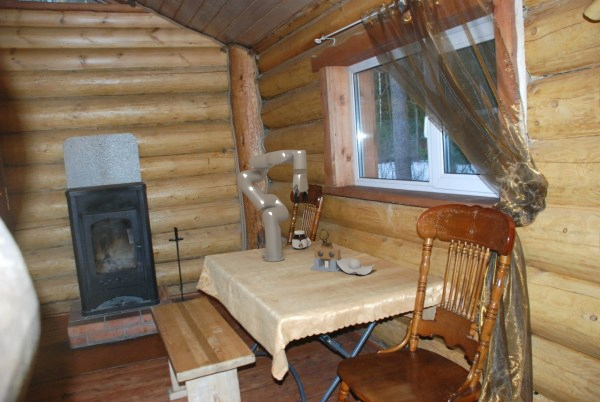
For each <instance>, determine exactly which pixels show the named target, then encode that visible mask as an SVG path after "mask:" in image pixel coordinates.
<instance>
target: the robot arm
mask: <svg viewBox="0 0 600 402" xmlns="http://www.w3.org/2000/svg"><path fill="white" fill-rule="evenodd" d="M248 163H249V166H250V168H251V169H247V170H243V171H241V172H239V173H238V175H237V185H238V187H239V189H240V190H241V192H242V193H243V194H244V195H246V197H247V199H248V200H249V201H250V202H251V203H252V204H253V206H254V207H255V208H256V209H257V210H258V211H263V212H262V221H263V226H264V237H265V238H264V239H265V251H262V252H261V256H262V257H263V256H264V257H263V261H265V262H269V263H274V262H275V263H277V262H282V261H285V259H286V257H285V256H284V255H283V248H282V230H281V226H280V225H279V223H283V222H285V221H286V220H288V218H289V216H290V215H289V214H290V213H289V210H288V208H287V207H286V205H285V204H284V203H283V202H282V201H281V200H280V198H279V197H278V196H277V195H275V194H273V193H263V192H262V191H261V189H260V188H259V187H257V186H256V185H255V184H259V183H261V182H263V181H264V179H265V178H266V176H267V174H268V173H269V171H270V169H271V168H273V167H275V166H276V165H282V164H293V177H292V192H293V193H292V194H293V201H294V204H301V200H302V202H308V201H309V197H308V196H309V184H308V164H307V163H308V162H307V151H306V150H305V149H281V150H276V151H271V152H266V153H261V154H258V155H253V156H252V157H251V158H250V159H249V161H248ZM301 193H302V194H301ZM300 194H301V195H302V196H301V197H302V199H301V198H300ZM300 199H301V200H300Z"/></svg>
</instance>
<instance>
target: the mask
mask: <svg viewBox="0 0 600 402" xmlns="http://www.w3.org/2000/svg"><path fill="white" fill-rule="evenodd" d="M336 262H337V264H338V266H339V267H340V268H341V269H342V270H341V271H343V272H344V273H346V274H348V275H361V276H365V275H368V274H369V273H371V272H372V270H373V267H374V266H375V265H376V263H374V264H372V265H368V266H367V265H362V263H361V261H360V260H359V259H357V258H341V259H340V260H336Z"/></svg>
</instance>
